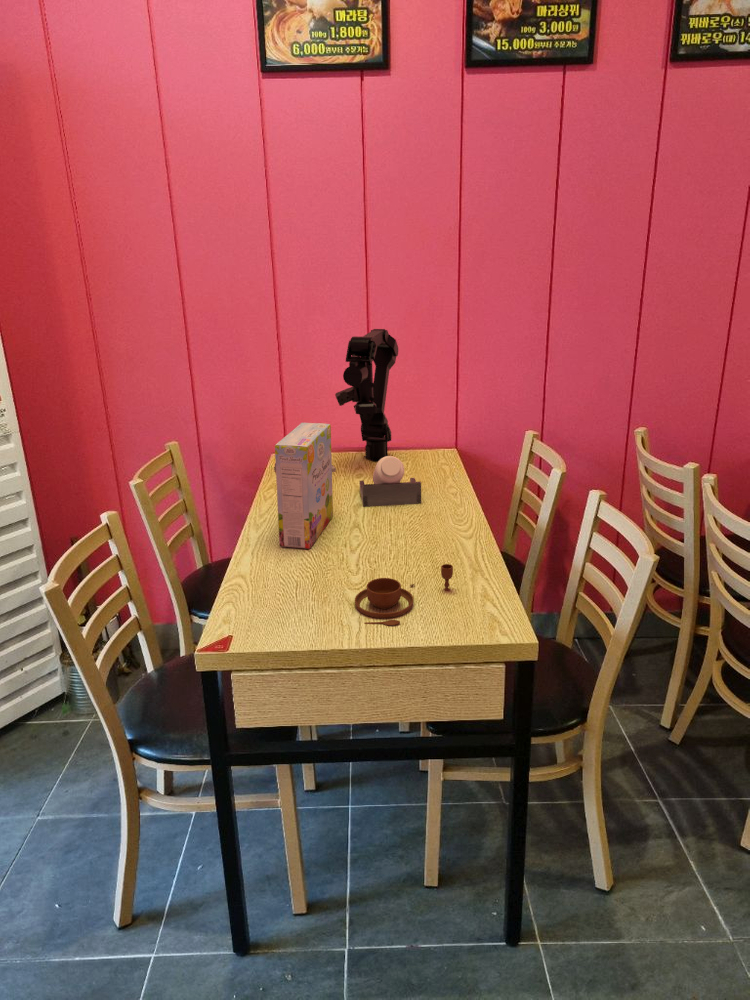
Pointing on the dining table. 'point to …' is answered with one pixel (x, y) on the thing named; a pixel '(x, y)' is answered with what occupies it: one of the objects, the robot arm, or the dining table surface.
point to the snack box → (304, 484)
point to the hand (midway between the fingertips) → (364, 429)
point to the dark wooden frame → (391, 493)
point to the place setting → (392, 596)
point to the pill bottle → (388, 470)
